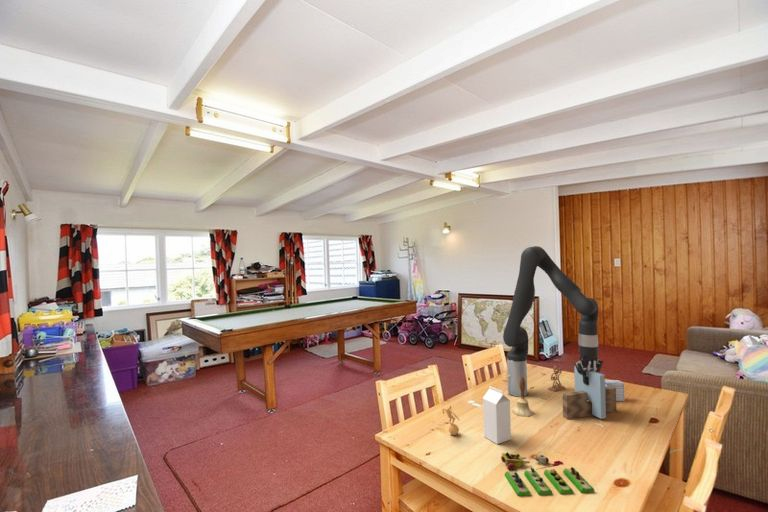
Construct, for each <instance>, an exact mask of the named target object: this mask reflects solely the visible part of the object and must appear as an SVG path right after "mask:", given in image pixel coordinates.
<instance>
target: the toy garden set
mask: <svg viewBox="0 0 768 512" xmlns="http://www.w3.org/2000/svg"><path fill="white" fill-rule="evenodd" d="M500 459H501V461H502V462H504V465H506V469H507V471H505V473H504V477H505V479H506V480H507V482H508V483H509V485H510V486H511V488H512V490H513V491H514V493H515V494H516V496H517V497H525V496H526V497H527V496H531V495H532V492H531V491H530V490H529V488H528V487H527V485H526V484H525V483H524V480H522V478H521V476H520V475H519V473H518V472H517V471H516V469H517V468H520V467H521V466H522V465H523V464H530V461H529V460H527V457H526V456H521V455H520V453H509V452H508V451H507V452H506V453H505V452H502V453H501V457H500ZM533 460H535V461H537V463H538V464H539V465H541V466H542V467H539V468H533V467H530V470H525V471H524V472H523V473H524V474H523V475H524V477H525V478H526V480H527V481H528V482H529V484H530V485H531V487H532V488H533V489H534V491H535V493H537V495H538V496H548V495H553V490H552V489H551V488H550V487H549V485H548V484H547V483H546V482H545V481H544V478H543V477H542V476H540V474H539V473H538V472H537V471H538V470H541V469H545V470H544V471H543V475H544V476H545V477H546V479H548V481H549V482H550V484H551V485H552V486H553V487H554V488H555V490H556V491H557V493H558V494H560V495H567V494H568V495H569V494H572V495H573V494H574V490H573V489H572V487H571V486H570V485H569V484H568V483H567V482H566V481H565V479H564V478H563V477H562V476H561V475H560V474H559V473H558V471H557V470H556V469H554V468H552V467H557V466H559V465H564V462H563V461H561V460H556V461H553V463H552V464H550V465H548V466H547V464H548V463H549V462H550V461H549V458H548V457H547V456H546V455H545V454H543V453H542V454H538V455H534V456H533ZM547 468H552V469H547ZM536 470H537V471H536ZM562 473H563V475H564V476H565V477H566V478H567V479H568V480H569V481H570V482H571V483H572V485H573V486H574V487H575V488H576V489H577V491H579V492H580V494H585V493H589V494H590V493H595V489H594V487H593V485H591V484H590V483H589V482H588V481H587V480H586V479H585V478H584V477H583V476H582V475H581V474H580V472H579V471H577V470H576V468H575V467H573V466H571V467H570V468H564V469H563V471H562Z"/></svg>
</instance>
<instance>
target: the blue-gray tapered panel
mask: <svg viewBox="0 0 768 512" xmlns="http://www.w3.org/2000/svg"><path fill="white" fill-rule="evenodd" d="M586 369H587V368H586ZM573 370H574V371H573V372H574V373H573V374H574V392H577V391H585V392H587V401H590V402H592V415H591V416H594V417H597V418H598V419H600V420H601V419H606V418H607V413H606V403H605V380H606V378H605V377H606V375H605V374H603V373H600V372H599V373H598V372H595V371H592V370H590V371H589V376H588V377H589V385H585V384H584V383H583V375H581V374H579V373H578V371H577V369H576V366H575V365H574V367H573ZM585 373H586V371H585Z"/></svg>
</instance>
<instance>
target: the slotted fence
mask: <svg viewBox="0 0 768 512" xmlns="http://www.w3.org/2000/svg"><path fill="white" fill-rule="evenodd" d="M605 403H606V414H607V413H611V412H612V413H613V412H617V401H616V388H614V387H611V386H610V387H605ZM588 416H589V417H590V416H593V415H592V402H590V401H588V400H587V392H585V391H577V392H575V391H572V392H570V391H569V392H565V393H562V417H563V418H564V419H566V420H571V419H577V418H578V419H579V418H583V417H588Z"/></svg>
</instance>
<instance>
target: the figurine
mask: <svg viewBox="0 0 768 512" xmlns="http://www.w3.org/2000/svg"><path fill="white" fill-rule="evenodd" d="M441 411H442V415H444V414H445V412H446V415H447V418H449V420H448V421H449V424H450V425H449V426H448V432H449V434H450V435H452V436H456V435H458V433H460V432H459V431H460V428H459V426H458V425H457V424H455V421H456V418H457V420H458V421H460V418H459V417H458V416H457V414H455V412H454V411H452V405H451V404H450V405H448V406H447V407H445V408H442V409H441ZM451 421H452V422H451Z"/></svg>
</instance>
